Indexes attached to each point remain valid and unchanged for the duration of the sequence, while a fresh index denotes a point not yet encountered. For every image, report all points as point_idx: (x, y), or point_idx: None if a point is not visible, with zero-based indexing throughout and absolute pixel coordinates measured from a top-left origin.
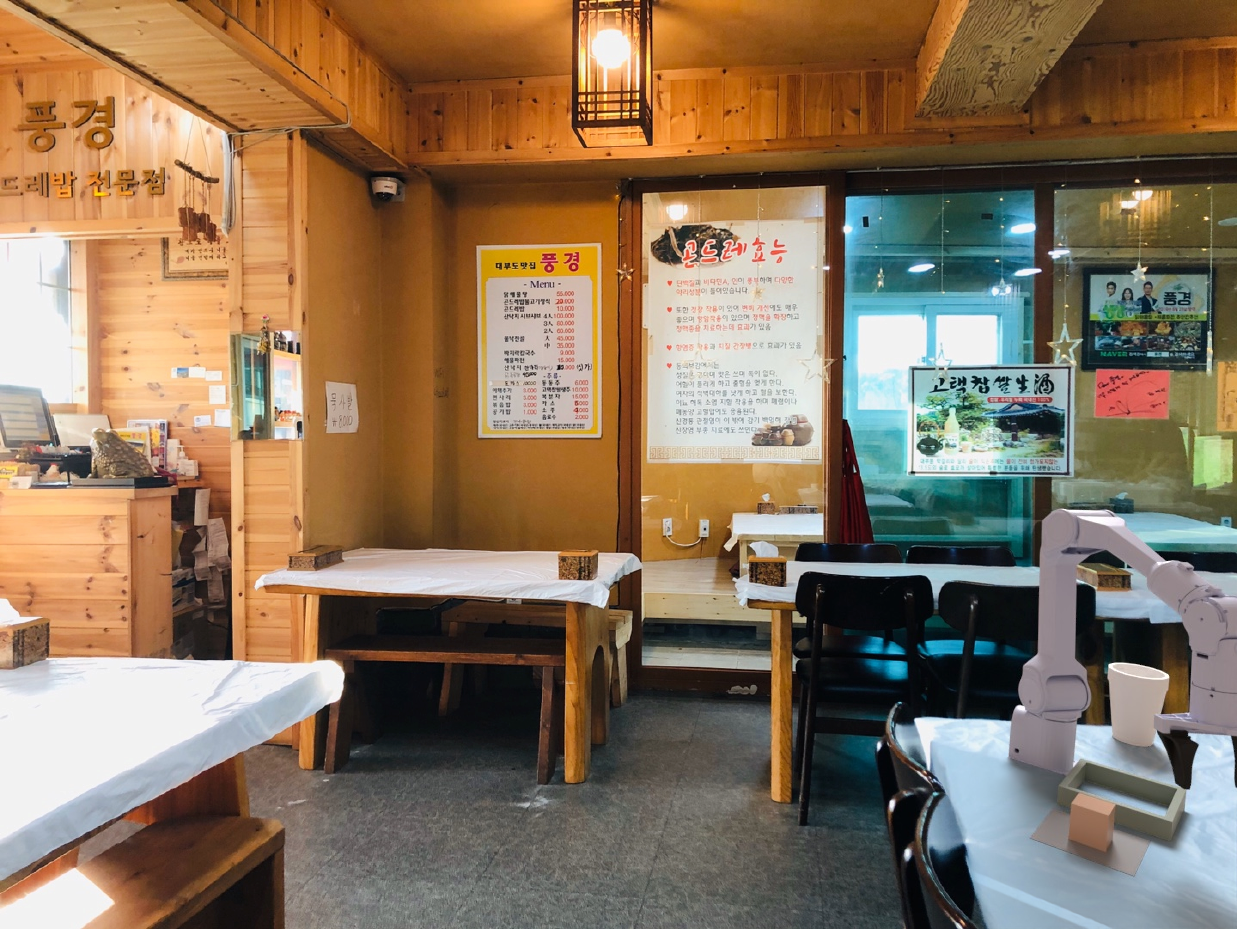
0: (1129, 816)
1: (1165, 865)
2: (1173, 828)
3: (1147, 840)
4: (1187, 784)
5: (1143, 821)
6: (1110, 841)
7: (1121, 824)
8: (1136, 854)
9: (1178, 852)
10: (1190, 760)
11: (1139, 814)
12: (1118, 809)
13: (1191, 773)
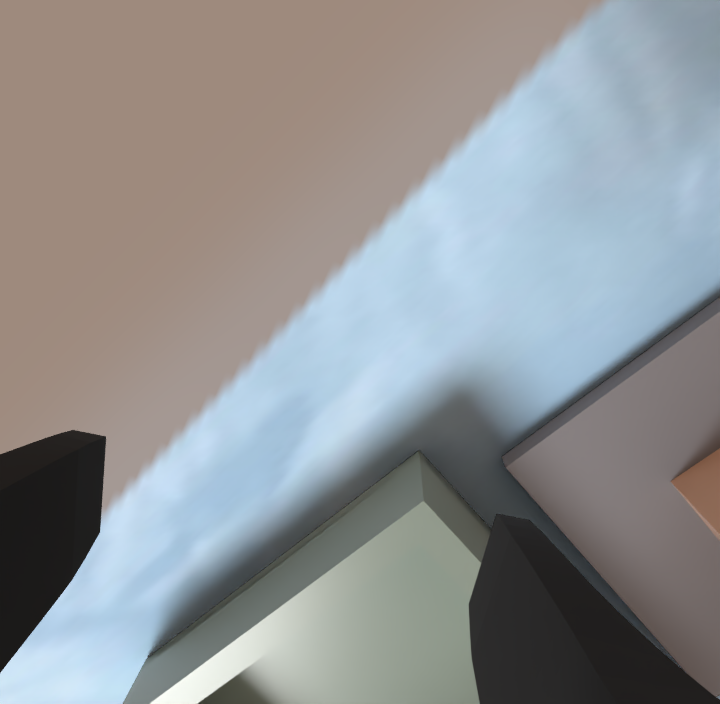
0: None
1: (557, 333)
2: (372, 511)
3: (519, 468)
4: (536, 533)
5: None
6: (715, 459)
7: None
8: (668, 376)
9: (416, 414)
10: (634, 681)
11: None
12: None
13: (548, 582)
